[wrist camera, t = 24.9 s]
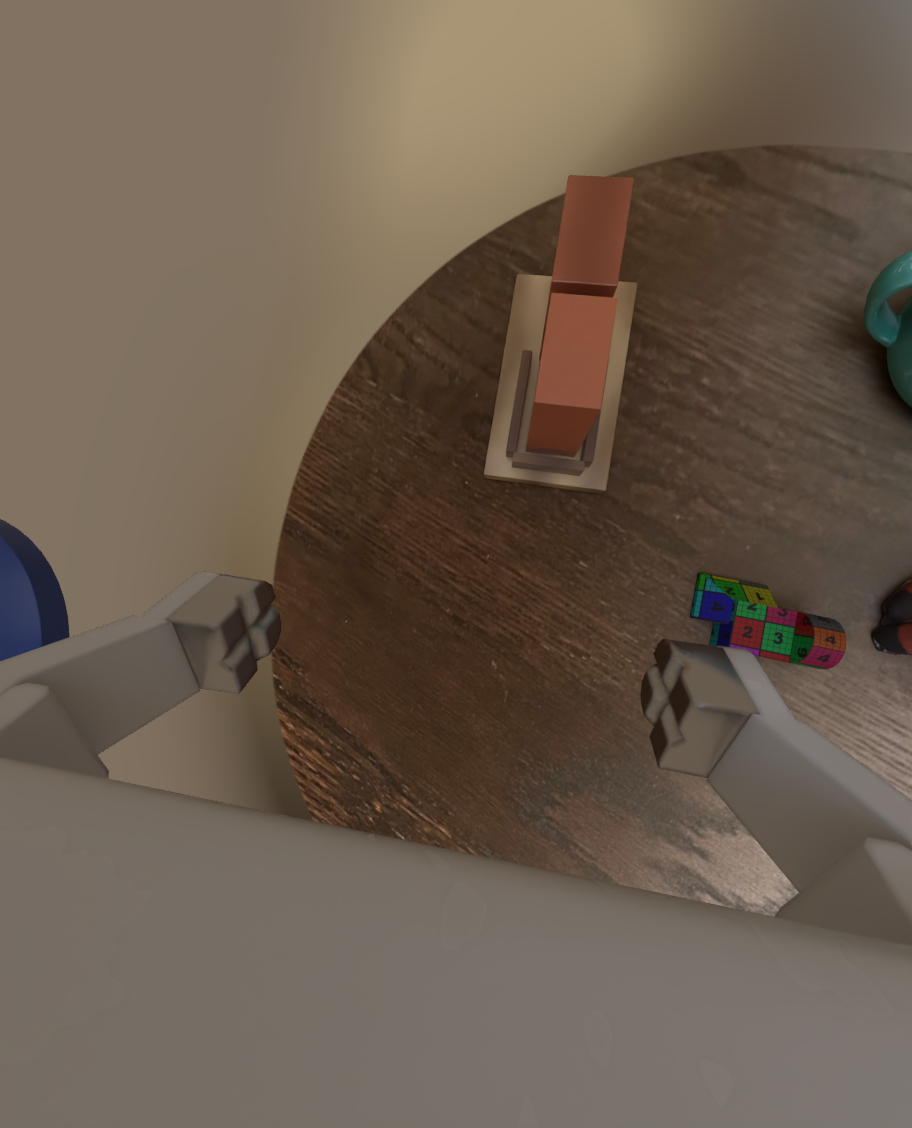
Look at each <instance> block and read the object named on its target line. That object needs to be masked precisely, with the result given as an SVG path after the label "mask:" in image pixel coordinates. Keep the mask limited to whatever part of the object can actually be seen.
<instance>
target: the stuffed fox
mask: <svg viewBox="0 0 912 1128" xmlns="http://www.w3.org/2000/svg"><path fill="white" fill-rule="evenodd" d="M900 587H901V588H900V589H899V590H897V591H896V592H895V593H893V594H892V595H891V597H890V598H889V599H888V600H887V601H886V602H885V604H884V607H883V612H884V614H883V618H882V619H881V626H880V627H878V629H876V630H875V631H874V632H873V635H872V636H873V640H874V643H875V645H876V646H875V647H877V649H878V651H883V652H886V653H889V654H891V653H892V654H895V655H897V654H904V655H907V654H909V655H912V580H908V581H906V582H905V583H903V584H902V585H901V586H900Z"/></svg>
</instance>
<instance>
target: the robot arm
mask: <svg viewBox="0 0 912 1128" xmlns="http://www.w3.org/2000/svg"><path fill="white" fill-rule="evenodd" d="M275 598H276V597H275V594H274V590H273V587H272V585H271V584H269V583H268V582H266V581H260V580H254V579H249V578H243V577H237V576H230V575H222V574H217V573H210V572H198V573H195V574H194V575H192V576H191V577H190V578H189V579H187V580H186V581H185V582H183V583H182V584H181V585H179V586H178V587H177V588H176V589H174V590H173V591H172V592H170V593H169V594H168V595H166V596H165V597H164V598H163V599H161V600H160V601H159V602H157V603H156V604H155V605H154V606H152V607H151V608H150V609H148V610H147V611H146V612H145V613H143V614H142V615H141V616H135V615H132V616H129V617H126V618H123V619H120V620H118V621H115V622H112V623H109V624H106V625H103V626H101V627H97V628H95V629H92V630H89V631H86V632H83V633H80V634H77V635H74V636H72V637H69V638H66V639H63V640H60V641H57V642H54V643H51V644H49V645H46V646H43V647H40V648H37V649H34V650H31V651H29V652H26V653H23V654H20V655H17V656H14V657H11V658H8V659H6V660H3V661H0V1128H912V800H911V799H910V798H908V797H907V796H906V795H904V794H903V793H902V792H900V791H899V790H897V789H896V788H895V787H893V786H892V785H891V784H889V783H888V782H886V781H885V780H884V779H882V778H881V777H880V776H878V775H877V774H876V773H874V772H873V771H871V770H870V769H869V768H867V767H866V766H865V765H863V764H862V763H861V762H859V761H858V760H856V759H855V758H854V757H852V756H851V755H850V754H848V753H847V752H845V751H844V750H843V749H841V748H840V747H839V746H837V745H836V744H835V743H833V742H832V741H830V740H829V739H828V738H826V737H825V736H824V735H822V734H821V733H819V732H818V731H817V730H815V729H814V728H813V727H811V726H810V725H809V724H807V723H806V722H801V721H796V720H795V719H794V717H793V716H792V714H791V712H790V711H789V709H788V708H787V706H786V705H785V703H784V702H783V700H782V698H781V697H780V695H779V694H778V692H777V691H776V689H775V687H774V686H773V684H772V683H771V681H770V680H769V678H768V677H767V675H766V673H765V672H764V670H763V669H762V667H761V666H760V664H759V662H758V661H757V659H756V658H755V656H754V655H753V654H752V653H751V652H750V651H748V650H747V649H740V648H732V647H724V646H717V647H716V646H711V645H703V644H696V643H689V642H682V641H675V640H667V639H662V640H661V641H660V642H659V643H658V645H657V647H656V649H655V652H654V656H655V659H656V662H657V664H655V665H653V666H652V667H650V668H648V669H647V670H646V673H645V675H644V678H643V680H642V686H641V705H642V709H643V713H644V717H645V718H646V719H647V720H648V721H649V722H650V723H651V724H652V725H653V726H654V728H653V730H652V732H651V734H650V739H651V743H652V747H653V750H654V754H655V757H656V761H657V764H658V768H660V769H665V770H669V771H674V772H679V773H684V774H689V775H694V776H699V777H704V778H708V779H707V781H708V783H709V784H710V785H711V786H712V788H713V789H714V790H715V791H716V792H717V794H718V795H719V796H720V797H721V798H722V800H723V801H724V802H725V803H726V804H727V806H728V807H729V808H730V809H731V810H732V812H733V813H734V814H735V815H736V817H737V818H738V819H739V820H740V821H741V823H742V824H743V825H744V826H745V827H746V829H747V830H748V831H749V832H750V833H751V835H752V836H753V837H754V838H755V839H756V841H757V842H758V843H759V844H760V845H761V847H762V848H763V849H764V850H765V852H766V853H767V854H768V855H769V856H770V858H771V859H772V860H773V861H774V862H775V864H776V865H777V866H778V867H779V868H780V870H781V871H782V872H783V873H784V874H785V876H786V877H787V878H788V879H789V880H790V882H791V883H792V884H793V885H794V887H795V888H796V889H797V890H798V891H799V893H798V894H797V895H796V896H795V897H793V898H792V899H791V900H790V901H788V902H787V903H786V904H785V905H784V906H782V907H781V908H780V909H779V911H778V912H777V914H776V915H775V917H773V916H768V915H763V914H758V913H754V912H749V911H744V910H739V909H734V908H729V907H724V906H720V905H715V904H710V903H705V902H700V901H695V900H691V899H686V898H681V897H676V896H671V895H666V894H662V893H657V892H652V891H647V890H642V889H638V888H633V887H628V886H623V885H618V884H614V883H609V882H604V881H599V880H594V879H589V878H585V877H580V876H575V875H570V874H565V873H561V872H556V871H551V870H546V869H541V868H537V867H532V866H527V865H522V864H517V863H513V862H508V861H503V860H498V859H493V858H489V857H484V856H479V855H474V854H469V853H465V852H460V851H455V850H450V849H445V848H441V847H436V846H431V845H426V844H421V843H417V842H412V841H407V840H402V839H397V838H392V837H387V836H383V835H378V834H373V833H368V832H363V831H358V830H354V829H349V828H344V827H339V826H334V825H329V824H325V823H320V822H315V821H310V820H305V819H300V818H295V817H290V816H285V815H281V814H276V813H271V812H266V811H261V810H257V809H252V808H247V807H242V806H237V805H232V804H228V803H223V802H218V801H213V800H208V799H204V798H199V797H194V796H189V795H184V794H180V793H175V792H170V791H164V790H160V789H155V788H151V787H145V786H140V785H136V784H131V783H126V782H121V781H117V780H111V779H108V774H109V771H108V769H107V768H106V766H105V765H104V764H103V762H102V761H101V759H100V758H99V757H98V754H100V753H101V752H103V751H104V750H106V749H107V748H109V747H111V746H112V745H114V744H116V743H117V742H119V741H120V740H122V739H124V738H125V737H127V736H128V735H130V734H132V733H133V732H135V731H136V730H138V729H139V728H141V727H143V726H144V725H146V724H147V723H149V722H151V721H152V720H154V719H155V718H157V717H159V716H160V715H162V714H164V713H165V712H167V711H168V710H170V709H172V708H173V707H175V706H176V705H178V704H180V703H181V702H183V701H184V700H186V699H188V698H189V697H191V696H192V695H194V694H196V693H197V692H199V691H200V689H207V690H213V691H220V692H227V693H234V694H239V693H240V692H241V691H242V690H243V688H244V687H245V686H246V684H247V683H248V682H249V680H250V679H251V678H252V677H253V675H254V674H255V673H256V671H257V661H258V660H260V659H262V658H264V657H266V656H268V655H269V654H270V653H271V652H272V650H273V649H274V647H275V646H276V644H277V641H278V639H279V636H280V633H281V620H280V615H279V613H278V612H277V611H276V610H275V608H274V607H273V606H272V605H271V603H272V602H273V600H274V599H275ZM199 688H200V689H199Z"/></svg>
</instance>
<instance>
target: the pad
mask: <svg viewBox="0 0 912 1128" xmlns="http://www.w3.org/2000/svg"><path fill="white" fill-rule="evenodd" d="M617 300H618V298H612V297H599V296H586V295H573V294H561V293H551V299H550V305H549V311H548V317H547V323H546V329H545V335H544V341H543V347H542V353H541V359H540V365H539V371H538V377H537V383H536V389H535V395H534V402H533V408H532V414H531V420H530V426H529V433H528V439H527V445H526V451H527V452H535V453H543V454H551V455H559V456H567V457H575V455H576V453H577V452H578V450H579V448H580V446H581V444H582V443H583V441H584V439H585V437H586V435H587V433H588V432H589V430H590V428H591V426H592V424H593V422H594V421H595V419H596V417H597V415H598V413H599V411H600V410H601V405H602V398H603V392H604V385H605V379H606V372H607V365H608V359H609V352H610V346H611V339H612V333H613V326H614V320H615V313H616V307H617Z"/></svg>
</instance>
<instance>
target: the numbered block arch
mask: <svg viewBox="0 0 912 1128" xmlns="http://www.w3.org/2000/svg"><path fill="white" fill-rule="evenodd" d="M690 617H691V618H696V619H701V620H706V621H711V622H714V623H713V629H712V634H711V640H710V645H712V646H716V647H717V646H724V647H732V648H740V649H747V650H748V651H750V652H751V653H752V654H753V655H755V656H760V657H765V658H769V659H774V660H779V661H784V662H788V663H793V664H798V665H803V666H807V667H812V668H817V669H830V668H832V667H834V666H835V665H837V664H838V663H839V662H840V660H841V659H842V657H843V656H844V653H845V649H846V635H845V631H844V629H843V627H842V626H841V624H840V623H838V622H837V621H836V620H834V619H830V618H826V617H821V616H816V615H811V614H806V613H801V612H795V611H790V610H785V609H780V608H778V606H777V604H776V602H775V601H774V599H773V597H772V595H771V593H770V591H769V589H768V587H767V586H766V585H760V584H755V583H750V582H745V581H739V580H734V579H729V578H724V577H718V576H713V575H708V574H703V573H698V577H697V583H696V588H695V594H694V599H693V605H692V610H691V616H690Z"/></svg>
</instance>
